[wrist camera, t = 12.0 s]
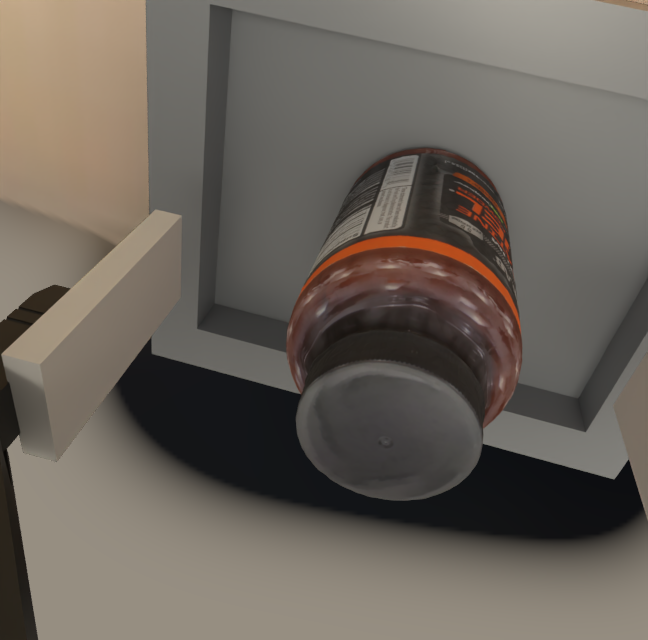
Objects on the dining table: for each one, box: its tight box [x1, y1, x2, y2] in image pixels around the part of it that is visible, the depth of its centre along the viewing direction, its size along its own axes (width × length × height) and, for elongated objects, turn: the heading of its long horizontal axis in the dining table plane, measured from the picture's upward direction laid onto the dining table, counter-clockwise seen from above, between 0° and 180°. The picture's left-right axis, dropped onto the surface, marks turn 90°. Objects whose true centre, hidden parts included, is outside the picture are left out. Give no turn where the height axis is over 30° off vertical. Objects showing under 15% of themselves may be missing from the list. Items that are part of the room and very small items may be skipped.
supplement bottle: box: [286, 148, 522, 501], centre depth 17 cm, size 6×6×11 cm
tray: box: [146, 0, 648, 479], centre depth 21 cm, size 20×16×3 cm
